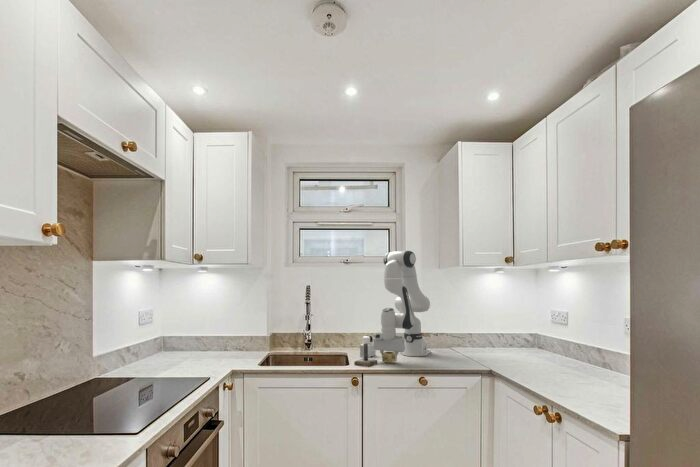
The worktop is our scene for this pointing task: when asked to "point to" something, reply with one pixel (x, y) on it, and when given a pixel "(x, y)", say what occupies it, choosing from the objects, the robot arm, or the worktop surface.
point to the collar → (388, 357)
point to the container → (370, 346)
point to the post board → (365, 358)
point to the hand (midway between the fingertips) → (389, 358)
